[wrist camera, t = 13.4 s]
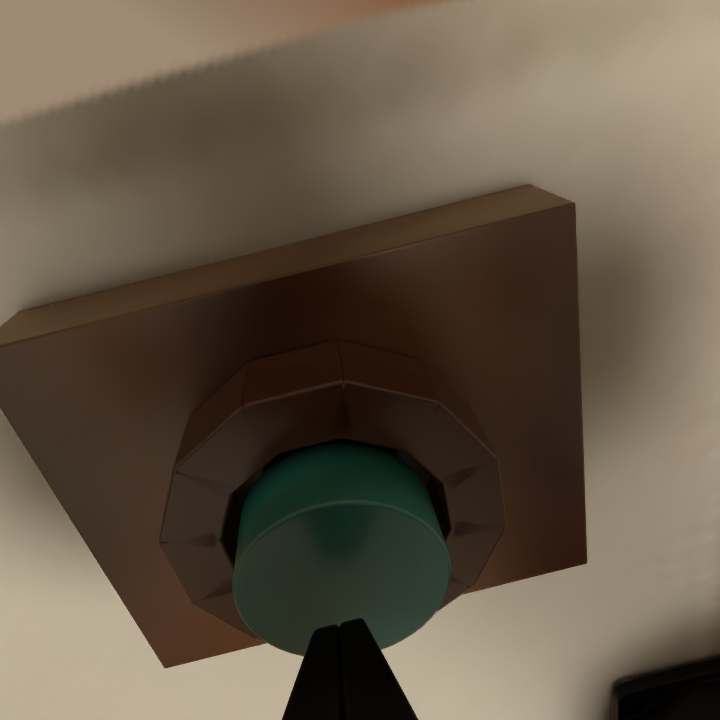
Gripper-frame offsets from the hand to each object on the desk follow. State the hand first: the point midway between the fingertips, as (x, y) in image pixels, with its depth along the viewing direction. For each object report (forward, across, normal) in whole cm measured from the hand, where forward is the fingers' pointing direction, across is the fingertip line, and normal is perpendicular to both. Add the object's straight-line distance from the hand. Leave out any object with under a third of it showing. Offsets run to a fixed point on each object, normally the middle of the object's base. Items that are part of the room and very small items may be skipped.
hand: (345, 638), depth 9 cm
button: (+3, 0, 0) cm, 3 cm away
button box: (+6, 0, 0) cm, 6 cm away
